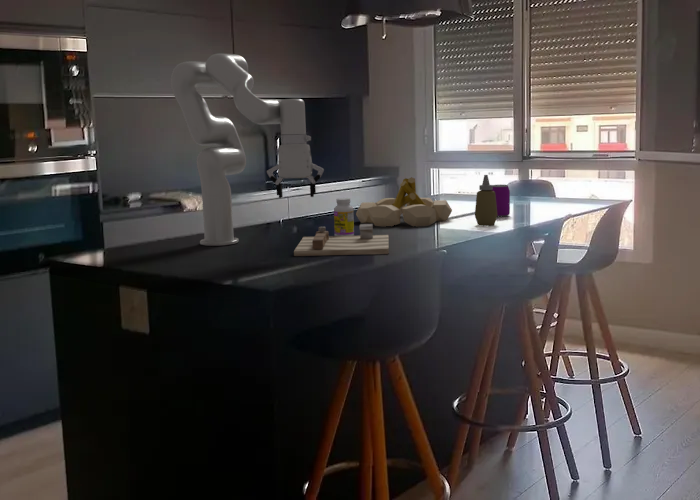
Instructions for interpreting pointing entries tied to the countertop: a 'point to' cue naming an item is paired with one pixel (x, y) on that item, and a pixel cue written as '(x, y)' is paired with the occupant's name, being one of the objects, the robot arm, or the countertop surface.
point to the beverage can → (502, 200)
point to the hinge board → (346, 244)
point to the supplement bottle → (343, 218)
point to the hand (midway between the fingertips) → (296, 197)
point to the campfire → (404, 208)
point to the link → (320, 239)
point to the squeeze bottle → (486, 204)
